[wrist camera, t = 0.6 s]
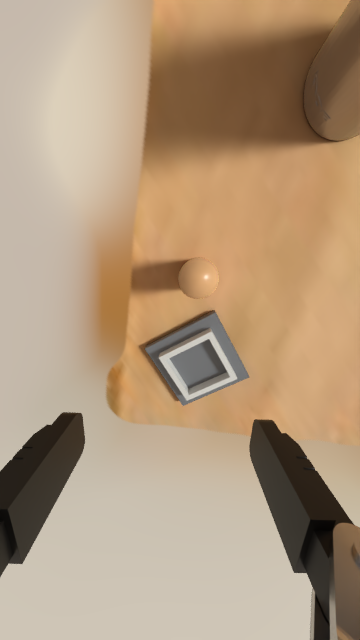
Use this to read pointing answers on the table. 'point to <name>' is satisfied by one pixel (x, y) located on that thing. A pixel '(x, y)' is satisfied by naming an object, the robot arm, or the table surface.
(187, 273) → the brown peg
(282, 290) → the table surface
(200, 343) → the housing
